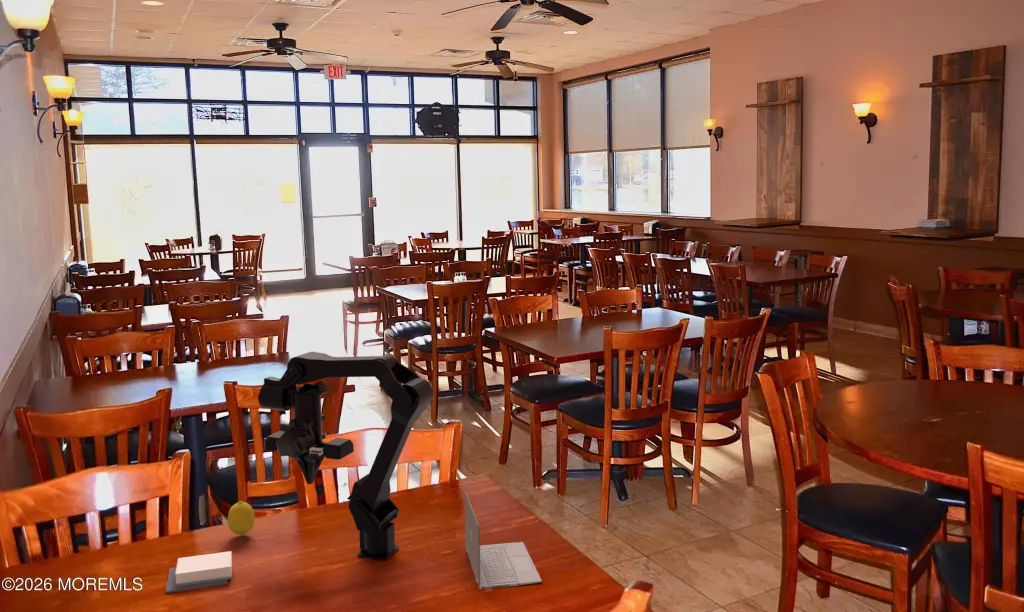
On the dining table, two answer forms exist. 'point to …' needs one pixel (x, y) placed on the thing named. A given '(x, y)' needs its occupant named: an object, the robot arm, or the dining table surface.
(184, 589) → the mat
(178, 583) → the white rectangular block
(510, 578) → the laptop
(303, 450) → the robot arm
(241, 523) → the lemon
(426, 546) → the dining table surface
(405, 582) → the dining table surface
